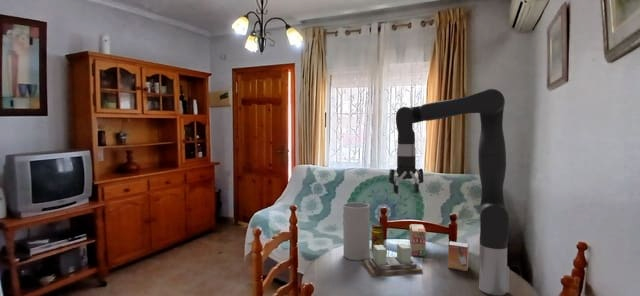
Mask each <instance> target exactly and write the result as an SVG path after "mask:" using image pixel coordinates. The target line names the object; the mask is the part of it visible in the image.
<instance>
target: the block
mask: <svg viewBox="0 0 640 296" xmlns="http://www.w3.org/2000/svg"><path fill="white" fill-rule="evenodd" d="M383 245H384V244H383ZM383 245H373V250H372V251H373V257H372V258H373V263H374V264H375V265H376V266H383V265H387V257H388V255H387V251H388V250H387V247H384V246H383Z"/></svg>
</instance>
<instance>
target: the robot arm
mask: <svg viewBox="0 0 640 296" xmlns="http://www.w3.org/2000/svg"><path fill="white" fill-rule="evenodd" d="M505 103H506V99H505V97H504V94H503V93H502V92H501V91H500V90H498V89H495V88H487V89H485V90H483V91H479V92H476V93H473V94H470V95H467V96H463V97H458V98H453V99H446V100H445V99H444V100H440V101H439V100H438V101H434V102H428V103H423V104H421V105H418V106H417V105H416V106H411V107H409V106H401V107H400V108H398V109H397V110H396V115H395V124H396V130H397V148H396V169H394V168H390V169H389V171H388V172H389V175H388V177H389V178H388V183H390V184H392V185H393V193H394V194H395V195H398V194H399V185H398V184H399V183H400V182H401V181H402V180H412V181H413V193H414V194H418V193H419V191H420V184H423V183H424V169H423V168H421V167H418V168H417V167H416V166H417V165H416V159H417V158H416V157H417V156H416V153H417V152H416V151H417V150H416V149H417V148H416V135H415V133H416V132H415V130H414V125H413V124H415V123H416V124H417V123H420V122H421V123H422V122H427V121H428V122H429V121H430V122H431V121H437V120H442V119H446V118H452V117H454V116H460V115H464V114H465V115H466V114H479V118H480V133H479V141H478V153H477V155H478V159H477V160H478V173H479V178H480V184H481V185H480V186H481V195H480V206H479V217H480V218H479V219H480V224H479V225H480V227H479V229H480V230H479V231H480V233H479V257H478V258H479V262H478V263H479V267H478V270H479V271H478V272H479V273H478V288H479V290H480V291H481V292H483V293H485V294H488V295H491V296H505V295H507V294H509V293H510V267H509V266H508V242H509V233H510V232H509V231H510V230H509V227H510V217H509V213H508V211H507V209H506V205H505V200H504V199H505V198H504V182H505V178H506V171H507V170H506V169H507V150H506V142H505V135H504V127H503V121H504V110H505ZM416 173H417V177H416ZM395 174H397V175H396V177H395Z"/></svg>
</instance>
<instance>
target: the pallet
mask: <svg viewBox="0 0 640 296" xmlns="http://www.w3.org/2000/svg"><path fill="white" fill-rule="evenodd" d="M362 261H363V265H364V266H365V268H366V269H367V271H368V272H369V274H370V275H371V276H372V277H379V276H381V277H382V276H396V275H407V274H408V275H409V274H411V275H412V274H422V273H423V268H422V267H420V265H418V264H417V262H415V261H414V260H413V259H412V258H411V264H400V263H399V262H398V261H397V256H387V265H383V266H376V265H375V264H374V263H373V257H368V258H367V259H365V260H362Z"/></svg>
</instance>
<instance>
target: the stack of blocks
mask: <svg viewBox="0 0 640 296" xmlns="http://www.w3.org/2000/svg"><path fill="white" fill-rule="evenodd" d="M408 231H409V245H410V246H409V247H410V248H411V256H416V257H418V256H420V257H426V241H427V240H426V239H427V238H426V234H427V231H426V228H425V226H424V225H423V224H417V223H414V224H413V223H411V224H409V229H408Z"/></svg>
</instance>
